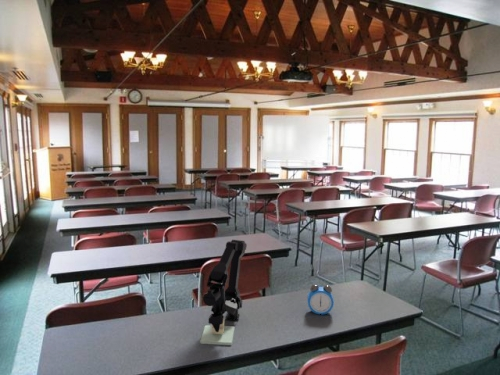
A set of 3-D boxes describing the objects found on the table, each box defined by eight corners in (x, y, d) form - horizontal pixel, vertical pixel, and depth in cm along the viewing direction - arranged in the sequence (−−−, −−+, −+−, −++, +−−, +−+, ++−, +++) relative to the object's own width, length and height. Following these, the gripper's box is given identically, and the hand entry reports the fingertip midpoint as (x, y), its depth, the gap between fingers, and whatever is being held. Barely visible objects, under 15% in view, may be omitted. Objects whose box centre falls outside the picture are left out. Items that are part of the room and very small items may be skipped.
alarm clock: (307, 314, 198) (308, 286, 196) (307, 308, 204) (308, 282, 202) (332, 316, 197) (334, 288, 194) (331, 310, 203) (333, 283, 200)
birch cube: (213, 327, 177) (213, 317, 177) (224, 328, 177) (224, 318, 176) (211, 333, 172) (211, 323, 172) (222, 334, 172) (223, 323, 171)
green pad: (205, 327, 182) (205, 325, 182) (234, 328, 182) (234, 326, 181) (200, 343, 168) (200, 341, 168) (231, 345, 168) (231, 342, 168)
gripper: (234, 306, 163) (233, 340, 165) (237, 288, 181) (237, 319, 183) (208, 305, 163) (208, 339, 165) (214, 287, 182) (214, 318, 184)
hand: (218, 328), depth 175 cm, fingers closed on birch cube, 5 cm apart
